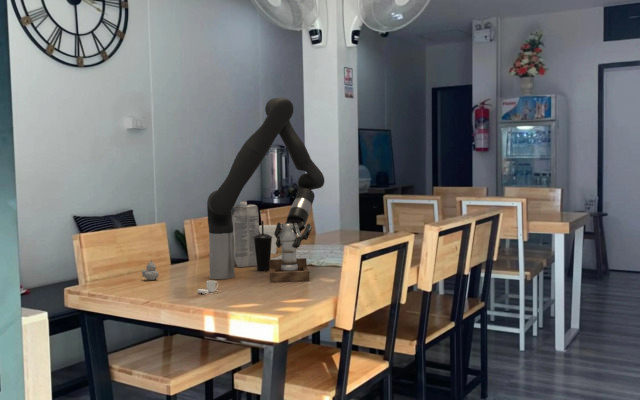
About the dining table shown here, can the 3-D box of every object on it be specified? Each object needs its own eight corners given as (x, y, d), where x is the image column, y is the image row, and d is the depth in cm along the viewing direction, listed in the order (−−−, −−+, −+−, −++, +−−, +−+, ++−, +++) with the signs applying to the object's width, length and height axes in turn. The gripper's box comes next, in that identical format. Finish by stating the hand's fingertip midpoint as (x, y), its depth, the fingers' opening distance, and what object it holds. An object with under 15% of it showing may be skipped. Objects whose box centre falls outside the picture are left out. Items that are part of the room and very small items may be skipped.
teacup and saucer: (198, 296, 213) (197, 284, 213) (196, 291, 221) (195, 280, 220) (224, 294, 215) (224, 282, 215) (221, 289, 223) (221, 278, 223)
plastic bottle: (289, 274, 244) (286, 222, 243) (302, 276, 240) (300, 223, 238) (277, 277, 239) (275, 224, 238) (290, 279, 235) (288, 225, 233)
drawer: (271, 282, 232) (270, 264, 232) (269, 276, 244) (269, 259, 244) (309, 281, 234) (309, 263, 233) (306, 275, 246) (306, 258, 246)
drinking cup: (270, 272, 254) (269, 222, 252) (251, 271, 255) (250, 221, 254) (275, 268, 261) (274, 220, 260) (257, 268, 263) (256, 220, 261)
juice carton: (261, 266, 268) (259, 201, 266) (236, 268, 264) (235, 203, 262) (255, 263, 276) (253, 200, 274) (231, 264, 272) (229, 201, 270)
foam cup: (283, 252, 305) (282, 225, 305) (271, 255, 298) (271, 227, 297) (267, 251, 310) (266, 224, 310) (255, 253, 303) (254, 226, 302)
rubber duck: (155, 281, 238) (154, 260, 237) (138, 281, 239) (137, 260, 239) (161, 278, 243) (160, 258, 243) (145, 278, 244) (144, 257, 244)
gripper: (279, 205, 247) (266, 239, 237) (313, 206, 241) (301, 241, 232) (286, 218, 252) (272, 252, 242) (319, 219, 247) (307, 253, 237)
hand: (286, 246), depth 237 cm, fingers open, 7 cm apart
